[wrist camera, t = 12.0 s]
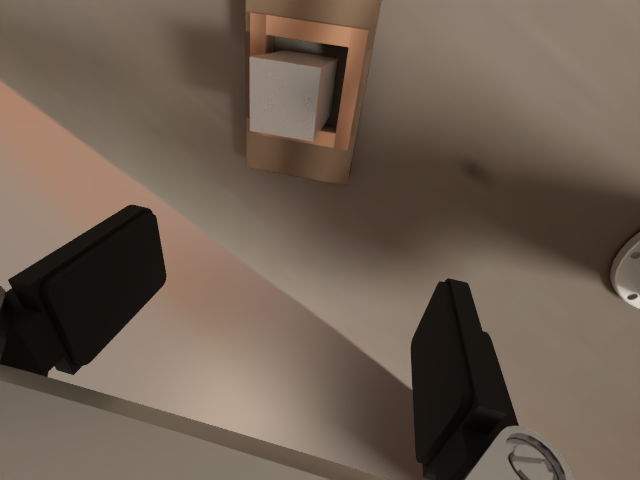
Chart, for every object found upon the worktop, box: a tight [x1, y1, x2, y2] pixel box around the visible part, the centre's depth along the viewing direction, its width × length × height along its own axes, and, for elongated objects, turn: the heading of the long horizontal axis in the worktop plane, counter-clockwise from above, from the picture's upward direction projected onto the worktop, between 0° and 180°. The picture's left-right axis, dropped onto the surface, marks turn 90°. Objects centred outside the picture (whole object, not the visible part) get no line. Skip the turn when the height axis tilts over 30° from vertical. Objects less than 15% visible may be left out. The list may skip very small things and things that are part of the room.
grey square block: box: [250, 50, 338, 142], centre depth 24 cm, size 4×4×9 cm
